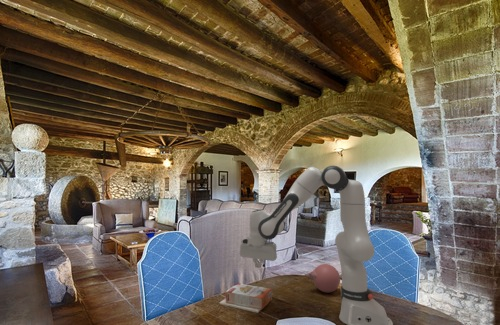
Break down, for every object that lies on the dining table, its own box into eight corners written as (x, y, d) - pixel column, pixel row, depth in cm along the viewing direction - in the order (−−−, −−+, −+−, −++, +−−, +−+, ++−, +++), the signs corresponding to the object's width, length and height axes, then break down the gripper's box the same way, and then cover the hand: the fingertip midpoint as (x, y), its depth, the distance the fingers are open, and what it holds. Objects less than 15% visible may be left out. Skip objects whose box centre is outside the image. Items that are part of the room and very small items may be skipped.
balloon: (303, 286, 170) (303, 260, 171) (337, 287, 168) (336, 261, 169) (306, 296, 154) (306, 267, 156) (343, 297, 153) (342, 268, 154)
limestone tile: (272, 299, 151) (272, 297, 151) (257, 312, 135) (257, 311, 135) (236, 292, 161) (236, 290, 161) (219, 304, 145) (219, 302, 145)
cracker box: (262, 297, 136) (224, 291, 145) (262, 310, 136) (224, 303, 144) (271, 287, 149) (237, 282, 157) (272, 299, 148) (237, 293, 157)
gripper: (278, 241, 145) (278, 268, 144) (244, 237, 154) (244, 263, 153) (273, 243, 139) (274, 271, 138) (238, 239, 149) (238, 266, 148)
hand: (258, 267), depth 146 cm, fingers closed
